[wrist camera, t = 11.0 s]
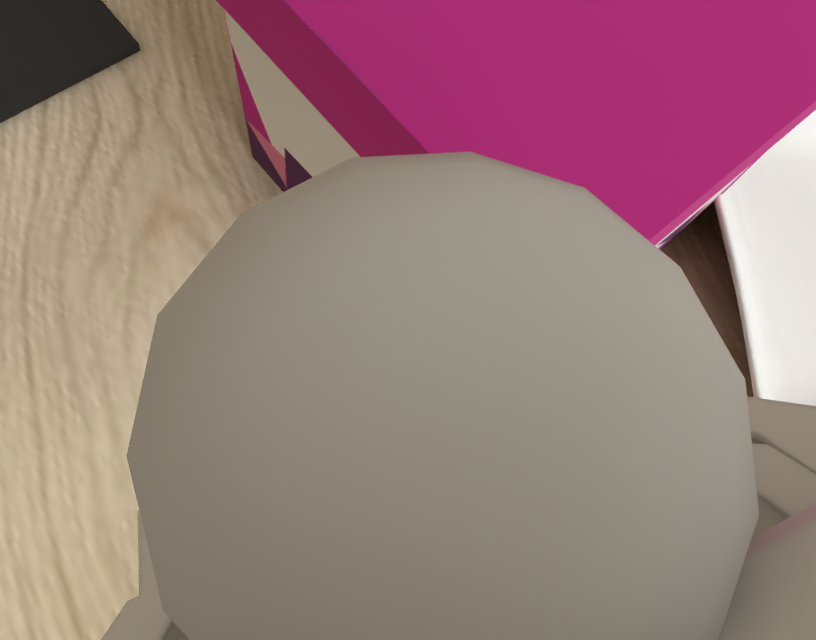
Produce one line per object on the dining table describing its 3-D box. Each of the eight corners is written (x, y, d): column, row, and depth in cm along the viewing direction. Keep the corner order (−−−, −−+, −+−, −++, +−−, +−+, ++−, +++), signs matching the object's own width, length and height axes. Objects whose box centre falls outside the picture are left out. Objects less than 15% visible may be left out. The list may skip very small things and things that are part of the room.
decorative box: (708, 215, 39) (917, 15, 25) (472, 417, 33) (573, 304, 19) (490, 8, 43) (566, -264, 29) (245, 156, 37) (192, -96, 23)
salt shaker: (185, 535, 15) (-328, 385, 3) (359, 367, 17) (429, -113, 5) (367, 730, 14) (562, 1502, 2) (529, 529, 16) (1096, 389, 4)
